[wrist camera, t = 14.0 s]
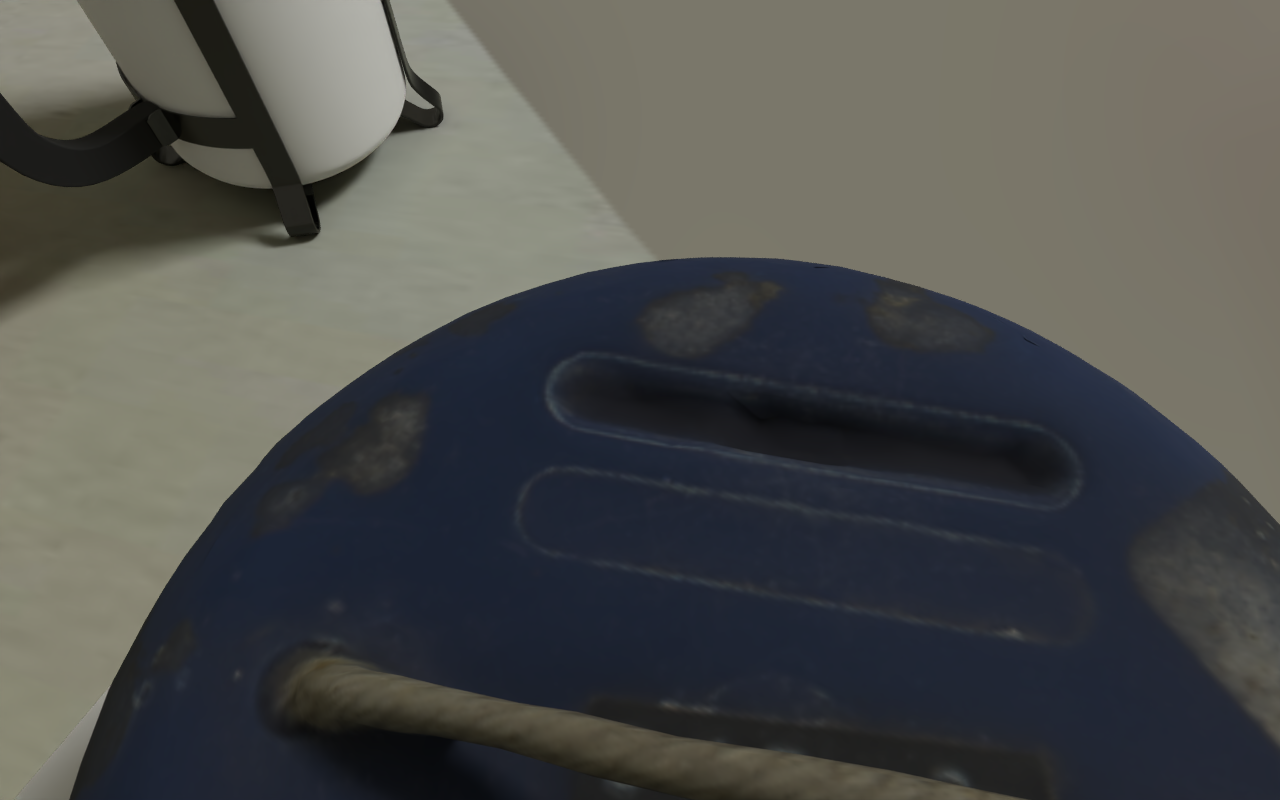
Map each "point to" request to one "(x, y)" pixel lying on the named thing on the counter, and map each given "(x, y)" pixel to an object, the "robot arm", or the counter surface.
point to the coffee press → (239, 96)
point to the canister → (716, 569)
